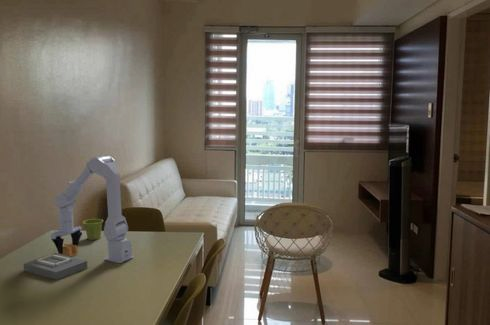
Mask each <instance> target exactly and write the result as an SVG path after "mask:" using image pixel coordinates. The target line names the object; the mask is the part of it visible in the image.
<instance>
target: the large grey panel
mask: <svg viewBox="0 0 490 325" xmlns="http://www.w3.org/2000/svg"><path fill="white" fill-rule="evenodd" d="M86 269H88V261H87V260H84V259H81V258H76V257H73V256H71V257H69V256H65V255H61V254H58V253H51V254H47V255H45V256H42V257H39V258H36V259H33V260H30V261H27V262H24V263H23V271H24V272H26V273H30V274H35V275H38V276H41V277H45V278H48V279H52V280H55V281H58V280H61V279H63V278H66V277H68V276H71V275H73V274H76V273H79V272H81V271H84V270H86Z"/></svg>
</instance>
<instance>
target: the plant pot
mask: <svg viewBox="0 0 490 325" xmlns="http://www.w3.org/2000/svg"><path fill="white" fill-rule="evenodd" d="M103 222H104V220H103V219H100V218H91V219H86V220H84V221H83V222H82V223H83V224H84V228H85V229H84V230H85V233H86V237H87V239H88V240H89V241H95V240H100V239H101V236H102V227H103ZM83 224H82V225H83Z"/></svg>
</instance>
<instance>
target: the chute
mask: <svg viewBox="0 0 490 325" xmlns="http://www.w3.org/2000/svg"><path fill="white" fill-rule="evenodd" d="M78 247H79V245H78V246H76V245H73V244H71V243H67V242H64V243H63V253H62V254H60V253H58V252H57V254H60V255H64V256H68V257H73V256H77V255H79V250H78V249H79V248H78Z"/></svg>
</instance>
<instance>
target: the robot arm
mask: <svg viewBox="0 0 490 325" xmlns="http://www.w3.org/2000/svg"><path fill="white" fill-rule="evenodd" d="M94 174H96V175H99V176H100V177H102V178H103V179H105V185H106V200H107V201H106V202H107V218H106V220H105V222H104V228H103V235H104V237H105V238H106V241H107V257H105V258H103V260H104V261H108V262H113V263H116V264H117V263H118V264H121V263H124V262H126V261H128V260H131V259H133V258H134V256H133V254H132V242H131V241H130V240H129V239H127V238H126V237H127V232H128V231H129V226H128V222H127V220H126V219H127V218H126V216H124V215H123V214H122V213H123V212H122V193H121V176H120V175H121V174H120V171H119V170H118V168H117V165H116V160H115V159H114V158H113V157H112V156H110V155H109V154H108V155H107V154H106V155H101V156H95V157H91V158H90V159H89V161H88V162H86V163H85V166H84V169H82V171H81V172H80V173H79V176H78V177H77V178H76V180H71V181H69V182H68V183H67V186H66V187H65V189H63V190H62V191H61V194H59V193H58V194H57V195H56V196H55V198H54V203H55V205H56V207H57V210H58V225H59V230H57V231H56V232H53V233H50V239H51V241H52V243H54V245H55V247H56V250H57V254H58V253H60V255H61V254H62V253H63V246H64V240H65V238H62V237H64V236H68V235H70V237H71V241H72V245H76V246H78V247H79V242H80V239H81V237H82V236H83V226H81V225H80V226H75V227H74V212H73V209H74V204H75V202H76V198H77V197H79V196H78V195H79V194H80V193H81V192H82V191H83V188H84V187H83V185H84V184H85V183H86V182H87V181H88V180H89V179H90V178H91V177H92V175H94Z"/></svg>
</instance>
